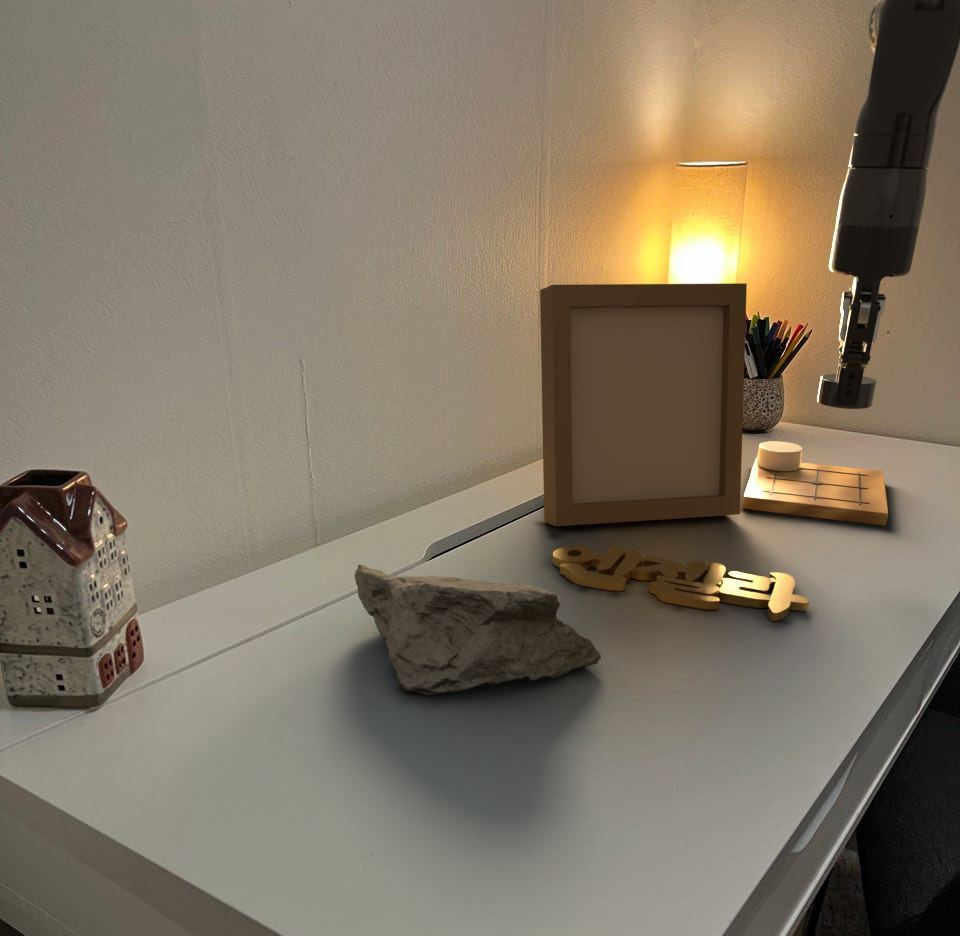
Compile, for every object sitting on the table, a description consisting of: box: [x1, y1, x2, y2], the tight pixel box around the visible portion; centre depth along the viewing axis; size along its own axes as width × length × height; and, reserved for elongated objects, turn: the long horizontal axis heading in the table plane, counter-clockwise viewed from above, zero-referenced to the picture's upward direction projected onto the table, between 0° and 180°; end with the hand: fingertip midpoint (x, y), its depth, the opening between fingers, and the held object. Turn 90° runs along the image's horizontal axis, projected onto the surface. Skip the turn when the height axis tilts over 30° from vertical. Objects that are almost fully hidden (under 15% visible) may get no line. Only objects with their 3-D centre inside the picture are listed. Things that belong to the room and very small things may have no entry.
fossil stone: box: [354, 564, 602, 697], centre depth 76 cm, size 20×15×10 cm
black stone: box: [816, 373, 877, 410], centre depth 99 cm, size 5×5×2 cm
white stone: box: [756, 440, 804, 471], centre depth 124 cm, size 5×5×2 cm
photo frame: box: [539, 282, 748, 527], centre depth 107 cm, size 15×22×25 cm
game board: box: [741, 457, 889, 527], centre depth 118 cm, size 16×18×2 cm
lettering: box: [552, 544, 810, 622], centre depth 92 cm, size 25×10×1 cm, turn 68°
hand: (845, 398), depth 99 cm, fingers closed on black stone, 5 cm apart
